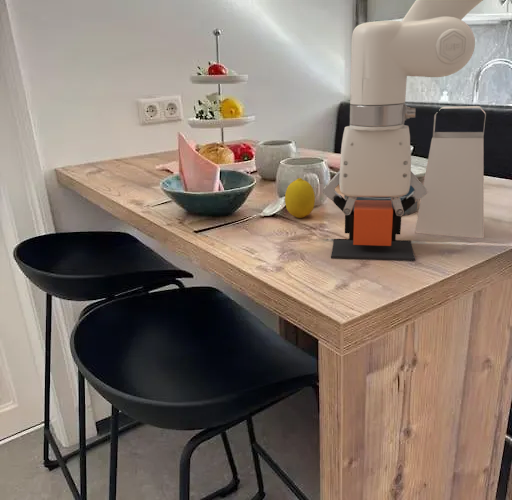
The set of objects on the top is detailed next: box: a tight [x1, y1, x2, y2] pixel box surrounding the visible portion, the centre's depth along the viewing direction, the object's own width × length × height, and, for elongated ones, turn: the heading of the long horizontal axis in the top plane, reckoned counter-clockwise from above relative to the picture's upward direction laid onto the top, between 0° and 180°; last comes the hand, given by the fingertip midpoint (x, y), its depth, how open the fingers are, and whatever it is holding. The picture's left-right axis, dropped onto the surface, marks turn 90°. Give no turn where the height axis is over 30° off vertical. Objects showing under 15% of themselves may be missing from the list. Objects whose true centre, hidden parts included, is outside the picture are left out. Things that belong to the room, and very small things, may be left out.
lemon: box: [284, 177, 316, 219], centre depth 93 cm, size 6×6×8 cm
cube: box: [353, 200, 393, 246], centre depth 76 cm, size 6×6×6 cm
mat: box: [330, 238, 416, 262], centre depth 77 cm, size 12×9×1 cm
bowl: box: [343, 185, 421, 216], centre depth 98 cm, size 14×14×4 cm
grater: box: [414, 105, 487, 239], centre depth 82 cm, size 10×10×20 cm
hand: (371, 237), depth 77 cm, fingers closed on cube, 5 cm apart
